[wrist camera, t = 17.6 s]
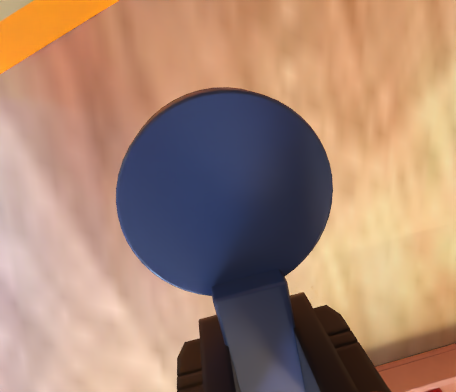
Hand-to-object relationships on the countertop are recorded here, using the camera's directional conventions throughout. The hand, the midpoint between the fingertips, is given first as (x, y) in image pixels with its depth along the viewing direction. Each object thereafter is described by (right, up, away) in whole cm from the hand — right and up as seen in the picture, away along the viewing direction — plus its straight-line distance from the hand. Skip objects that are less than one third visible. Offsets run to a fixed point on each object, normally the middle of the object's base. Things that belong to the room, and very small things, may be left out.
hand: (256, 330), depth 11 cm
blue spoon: (0, 0, 0) cm, 0 cm away
